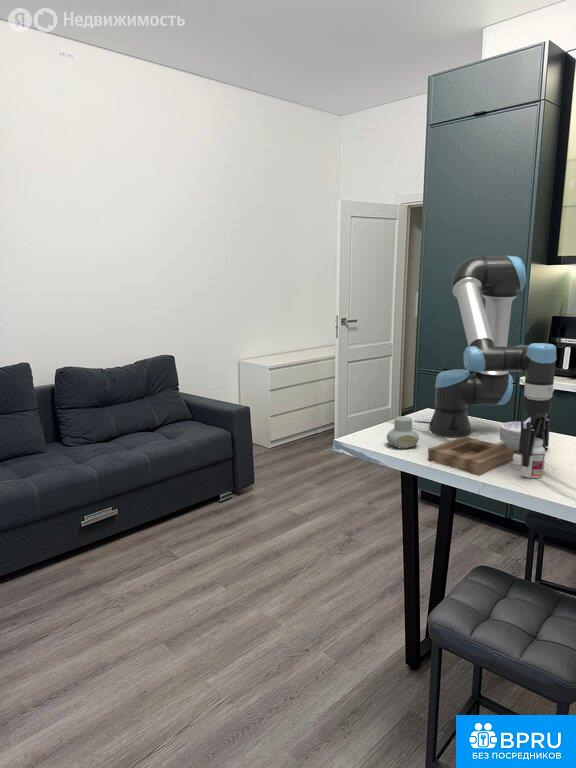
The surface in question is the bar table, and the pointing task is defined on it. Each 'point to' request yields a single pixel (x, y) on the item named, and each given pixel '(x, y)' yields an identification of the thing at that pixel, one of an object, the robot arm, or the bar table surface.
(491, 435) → the bar table surface
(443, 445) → the walnut holder
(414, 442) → the air freshener
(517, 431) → the paper bowls
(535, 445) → the pill bottle
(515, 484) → the bar table surface
